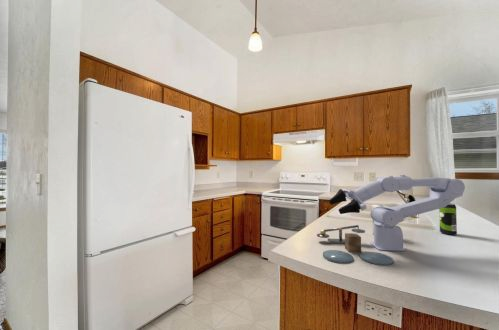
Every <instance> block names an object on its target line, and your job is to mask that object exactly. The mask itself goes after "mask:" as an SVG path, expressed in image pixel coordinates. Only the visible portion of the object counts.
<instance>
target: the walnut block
mask: <svg viewBox="0 0 499 330" xmlns="http://www.w3.org/2000/svg"><path fill="white" fill-rule="evenodd" d="M344 239H345V244H344V249H345V250H346V251H347V253H356V254H357V253H359V254H360V253H362V236H361V235H359V233H354V232H353V233H351V232H350V233H348V232H345V233H344Z"/></svg>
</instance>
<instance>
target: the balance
mask: <svg viewBox="0 0 499 330" xmlns="http://www.w3.org/2000/svg"><path fill="white" fill-rule="evenodd" d="M348 229H351V232H353V233H355V234H365V233H366V230H365V229H361V228H359V224H357V225H348V226H338V227H335V228H327V229H321V230H320V231H319V233H317V234H316V236H317V237H318V238H322V239H327V242H328V243H329V244H338V245H345V238H343V230H348ZM333 231H338V238H330V235H329V234H327V232H333Z"/></svg>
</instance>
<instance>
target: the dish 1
mask: <svg viewBox="0 0 499 330" xmlns="http://www.w3.org/2000/svg"><path fill="white" fill-rule="evenodd" d="M322 256H323V257H322V258H324V259H325V260H327V261H330V262H332V263H336V264H337V263H338V264H351V263H352V262H353V261H354V257H353V255H352V254H350V252H346V251H343V250H338V249H337V250H336V249H328V250H324V251H323V252H322Z"/></svg>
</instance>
